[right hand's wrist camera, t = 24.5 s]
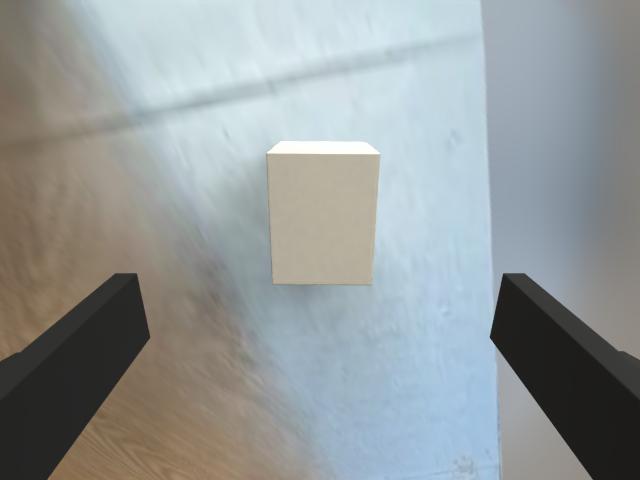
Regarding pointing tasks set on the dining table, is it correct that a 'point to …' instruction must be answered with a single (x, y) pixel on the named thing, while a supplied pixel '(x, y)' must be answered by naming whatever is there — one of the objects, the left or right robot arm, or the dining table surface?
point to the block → (322, 212)
